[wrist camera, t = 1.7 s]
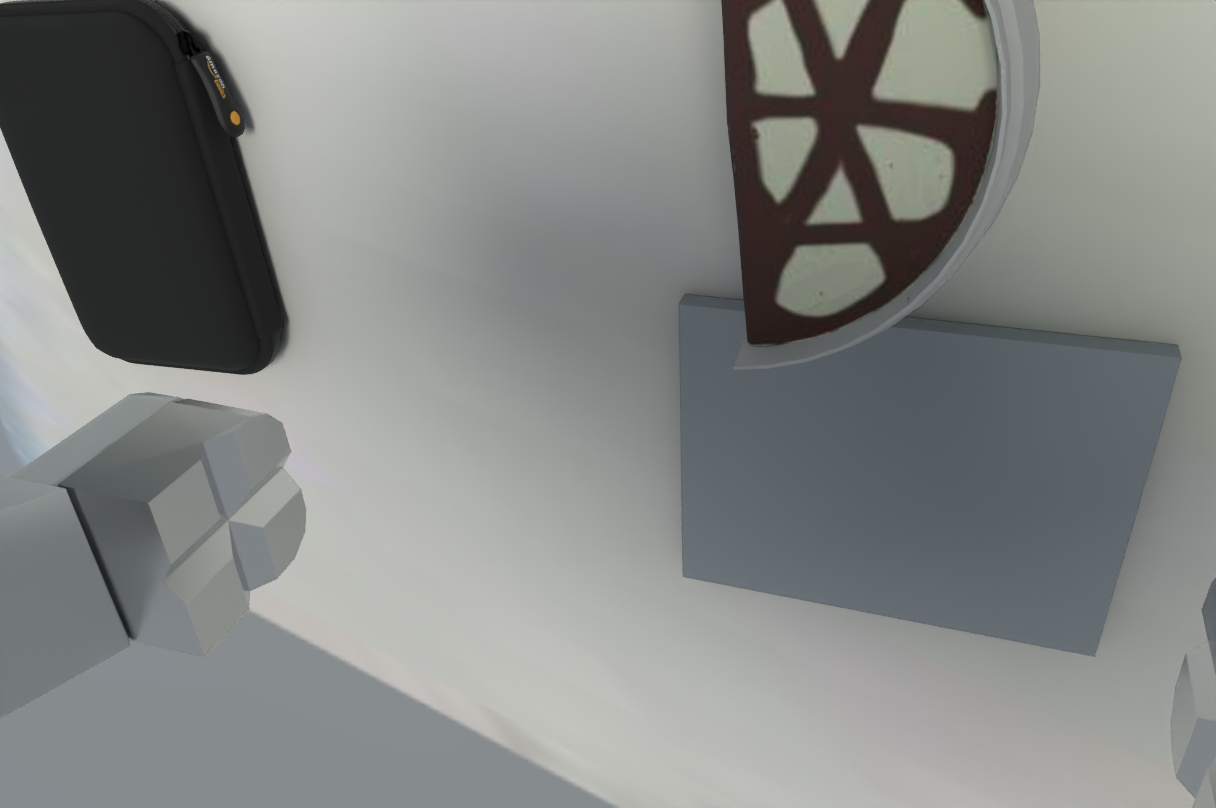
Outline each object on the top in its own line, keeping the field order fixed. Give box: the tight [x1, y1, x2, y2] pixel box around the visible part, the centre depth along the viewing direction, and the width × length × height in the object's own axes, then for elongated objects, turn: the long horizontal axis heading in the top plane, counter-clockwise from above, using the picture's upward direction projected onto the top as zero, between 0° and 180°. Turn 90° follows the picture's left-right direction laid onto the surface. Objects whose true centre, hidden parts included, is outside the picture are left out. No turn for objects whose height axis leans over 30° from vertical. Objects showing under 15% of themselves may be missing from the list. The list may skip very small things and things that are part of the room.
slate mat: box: [679, 294, 1181, 657], centre depth 34 cm, size 15×12×1 cm
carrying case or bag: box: [0, 0, 284, 375], centre depth 38 cm, size 11×3×15 cm
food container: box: [722, 0, 1040, 370], centre depth 23 cm, size 12×6×10 cm, turn 9°
